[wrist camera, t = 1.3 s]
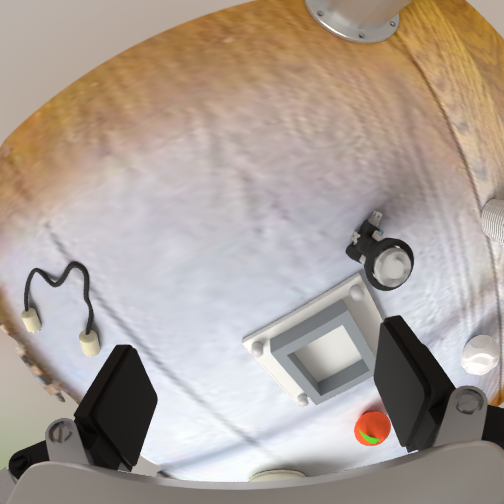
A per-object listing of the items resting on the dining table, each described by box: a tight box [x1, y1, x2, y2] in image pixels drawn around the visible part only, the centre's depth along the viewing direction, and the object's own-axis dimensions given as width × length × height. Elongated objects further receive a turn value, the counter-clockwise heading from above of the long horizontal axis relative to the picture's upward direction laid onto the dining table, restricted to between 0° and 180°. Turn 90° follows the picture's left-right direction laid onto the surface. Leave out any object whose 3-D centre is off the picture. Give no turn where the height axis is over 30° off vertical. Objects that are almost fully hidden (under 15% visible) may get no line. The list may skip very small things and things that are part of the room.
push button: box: [346, 211, 414, 291], centre depth 29 cm, size 7×5×10 cm
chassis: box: [242, 272, 383, 407], centre depth 38 cm, size 18×16×4 cm
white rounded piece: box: [461, 335, 499, 376], centre depth 37 cm, size 8×8×8 cm
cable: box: [21, 262, 100, 356], centre depth 37 cm, size 16×16×4 cm
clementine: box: [354, 411, 391, 446], centre depth 42 cm, size 8×7×7 cm
